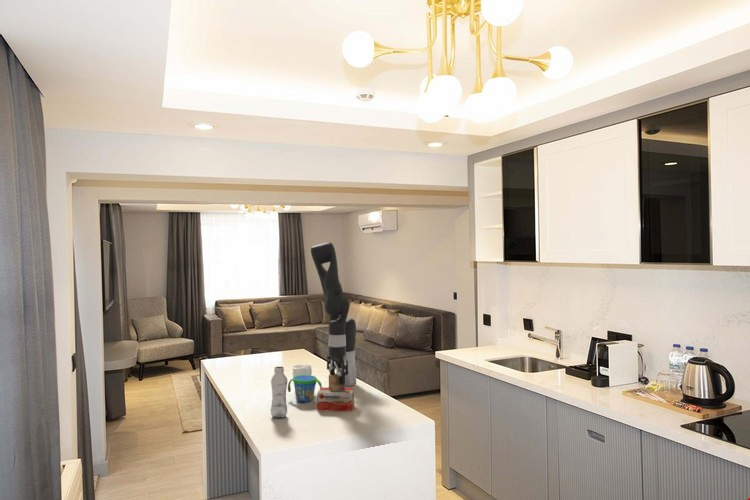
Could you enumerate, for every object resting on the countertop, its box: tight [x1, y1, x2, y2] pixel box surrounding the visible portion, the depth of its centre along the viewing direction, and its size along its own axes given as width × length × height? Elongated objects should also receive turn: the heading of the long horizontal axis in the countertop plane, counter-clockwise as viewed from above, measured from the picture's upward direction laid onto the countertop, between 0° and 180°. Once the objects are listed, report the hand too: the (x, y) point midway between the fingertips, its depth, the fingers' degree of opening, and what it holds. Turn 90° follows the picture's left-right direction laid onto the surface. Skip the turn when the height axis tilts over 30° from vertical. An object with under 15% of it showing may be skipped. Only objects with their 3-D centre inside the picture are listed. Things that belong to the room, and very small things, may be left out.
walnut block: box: [328, 373, 346, 392], centre depth 219 cm, size 5×5×6 cm
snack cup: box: [287, 375, 323, 403], centre depth 230 cm, size 16×10×10 cm
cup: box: [292, 364, 313, 388], centre depth 243 cm, size 9×9×12 cm
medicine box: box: [316, 387, 355, 412], centre depth 218 cm, size 15×8×8 cm, turn 86°
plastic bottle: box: [270, 366, 288, 419], centre depth 207 cm, size 6×7×20 cm
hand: (337, 382), depth 220 cm, fingers open, 8 cm apart
